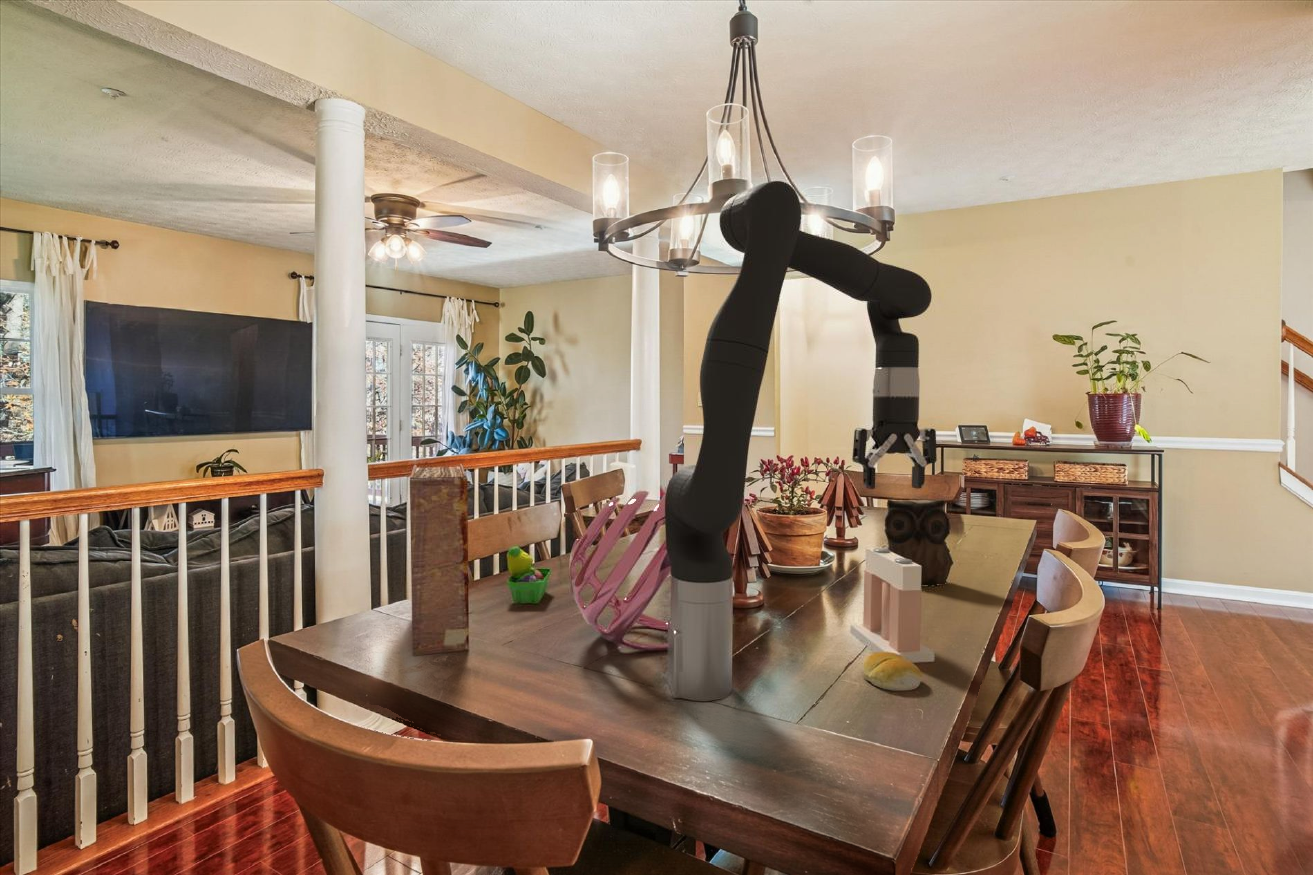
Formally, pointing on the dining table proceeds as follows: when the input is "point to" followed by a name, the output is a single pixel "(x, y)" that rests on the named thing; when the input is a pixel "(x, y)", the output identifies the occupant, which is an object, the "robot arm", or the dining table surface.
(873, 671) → the bread roll
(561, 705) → the dining table surface
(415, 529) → the book
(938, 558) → the owl
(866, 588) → the display stand
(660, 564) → the spiral basket
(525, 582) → the fruit basket
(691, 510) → the robot arm
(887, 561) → the frame bar
